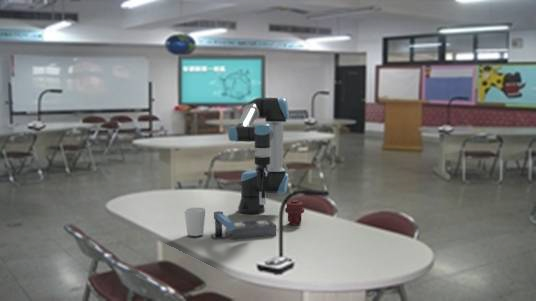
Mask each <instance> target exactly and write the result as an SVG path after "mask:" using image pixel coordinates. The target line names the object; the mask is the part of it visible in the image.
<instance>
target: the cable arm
mask: <svg viewBox="0 0 536 301" xmlns="http://www.w3.org/2000/svg"><path fill="white" fill-rule="evenodd" d="M213 219H214V221H215V220H218V221H219V222H220V223H221V224H222V226H223V227H225V229H226V228H227V229H228V230H235V227H234V223H233V222H234V221H233V220H231V219H230V218H229V217H228V216H226V215H225V214H224V212H223V211H214V212H213Z"/></svg>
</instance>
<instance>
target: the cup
mask: <svg viewBox="0 0 536 301" xmlns="http://www.w3.org/2000/svg"><path fill="white" fill-rule="evenodd" d="M184 215H185V216H184V218H185V225H186V232H187V235H188V237H190V238H192V237H193V238H198V237H203V235H204V230H205V219H206V218H205V217H206V208H203V207H198V206H197V207H189V208H186V209H184Z"/></svg>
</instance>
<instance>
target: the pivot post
mask: <svg viewBox="0 0 536 301" xmlns="http://www.w3.org/2000/svg"><path fill="white" fill-rule="evenodd" d="M214 224H215V225H214V226H215V228H214V231H215V232H214V233H213V234H210V236H211V238H212V239H213V240H220V239H221V240H224V239H227V235H226V233H225V234H224V232H223V225H222V224H221V223H220V222H219V221H218V220H215V219H214Z"/></svg>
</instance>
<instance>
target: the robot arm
mask: <svg viewBox="0 0 536 301" xmlns="http://www.w3.org/2000/svg"><path fill="white" fill-rule="evenodd" d="M289 117H290V112H289V105H288V101H287V99H286V98H283V97H258V98H255V99H252V100H251V101H249V102H248V103H246V104H245V105H244V107H243V108H242V111H241V116H240V117H239V120H238V121H237V123H236V125H234V126H229V128H228V140H229V141H230V142H236V143H237V142H239V143H240V142H242V143H243V142H250V143H252V142H254V150H253V152H254V165H257V168H256V169H255V170H247V171H244V172H242V174H241V177H240V194H241V196H240V201H239V203H238V206H237V209H238V212H239V213H240V214H244V215H255V214H262V213H264V212H265V210H266V209H265V208H266V207H265V205H266V202H267V199H266V198H267V197H266V196H267V195H266V194H271V195H274V194H275V195H283V194H285V193H286V191H287V188H288V183H289V173H287V172H286V169H285V168H284V125H285V124H286V123H287V120H288V119H289ZM257 119H263V120H265V123H256V124H255V125H254V123H255V121H257ZM253 125H254V126H253Z"/></svg>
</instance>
